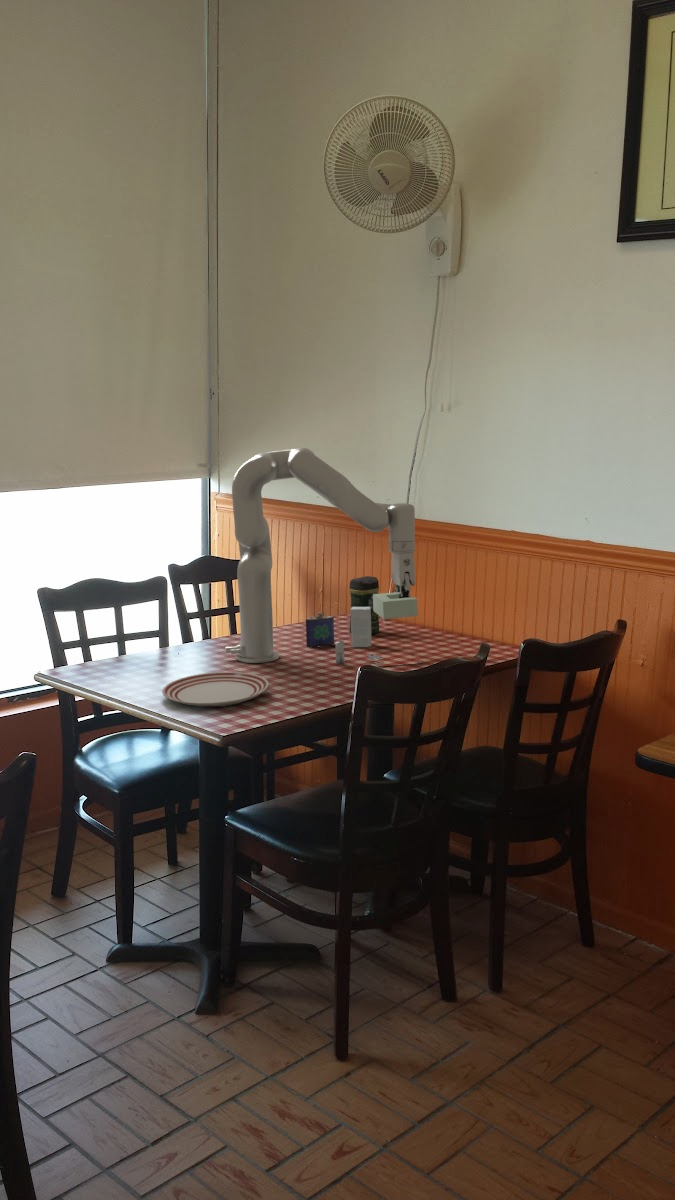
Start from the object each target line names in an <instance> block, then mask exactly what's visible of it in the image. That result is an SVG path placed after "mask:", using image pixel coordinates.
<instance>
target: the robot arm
mask: <svg viewBox="0 0 675 1200" xmlns="http://www.w3.org/2000/svg"><path fill="white" fill-rule="evenodd" d="M295 478H296V480H298V481H299V482H301V483H303V484H304V485H305V486H306V487H308V488H309V489H311V490H312V491H314V492H315V493H317V494H318V495H319V496H321V497H322V498H323V499H324V500H326V501H327V502H328V503H330V504H331V505H333V506H334V507H335V508H337V509H339V511H341V512H342V513H344V514H345V515H346V516H348V517H349V518H351V519H352V520H353V521H354V522H356V523H358V524H359V525H360V526H362V527H363V528H364V529H365V530H367V531H369V532H372V533H380V532H382V531H384V530H385V529H387V528H388V551H389V553H391V565H390V566H391V569H390V571H391V581H392V582H393V583H394V584H395V585H394V586H395V588H394V589H395V590H394V592H400V597H399V598H409V597H411V589H412V588H411V586H412V587H414V586H416V584H417V583H416V582H417V581H416V564H415V563H416V562H415V556H414V552H416V531H415V530H416V525H415V524H416V522H415V520H416V518H415V516H416V515H415V514H416V513H415V512H416V511H415V506H414V505H413V504H412V503H405V502H403V503H402V502H400V503H393V504H391V503H389V504H388V503H380V502H374V501H373V500H372V499H371V498H369V497H368V496H367V495H365V494H364V493H362V492H361V491H360V490H359V489H357V487H356V486H354V484H353V483H351V481H350V480H349V479H348V478H347V477H346V476H345V475H343V474H342V473H341V472H339V471H338V470H337V469H335V468H334V467H332V466H331V465H329V464H328V463H327V462H325V461H324V460H322V459H321V458H320V457H319V456H317V455H316V454H315V453H314V452H313V451H312V450H311V449H310V448H306V447H297V448H292V449H282V450H275V451H273V450H272V451H267V452H266V451H265V452H260V453H257V454H255V455H254V456H252V457H251V458H250V459H248V460H247V461H246V462H244V463H243V464H242V465H241V466H240V467H239V468H238V470H237V471H236V472H235V474H234V477H233V479H232V485H231V497H232V510H233V511H232V512H233V520H234V521H233V522H234V536H235V539H236V541H237V543H238V548H239V549H238V550H239V558H240V559H239V562H238V565H237V571H236V572H237V573H236V574H237V575H236V576H237V587H238V588H237V589H238V603H239V604H238V606H239V620H240V621H239V624H240V626H239V627H240V642H238V644H237V645H235V646H225V647H224V648H225V649H224V650H225V651H224V652H225V654H230V655H235V654H236V657H235V658H236V660H237V661H238V662H241V663H245V664H246V663H247V664H262V663H269V662H274V661H276V660H278V659H279V658H280V653H279V652H278V651H276V650H274V626H273V625H274V624H273V623H274V622H273V621H274V619H273V601H272V600H273V598H272V580H271V579H272V569H273V555H272V544H271V535H270V528H269V523H268V521H267V519H266V517H265V515H264V510H263V509H264V508H263V498H262V491H263V487H264V486H265V485H266V484H268V483H271V481H278V480H287V479H295Z"/></svg>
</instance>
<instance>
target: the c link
mask: <svg viewBox="0 0 675 1200" xmlns="http://www.w3.org/2000/svg"><path fill="white" fill-rule="evenodd" d="M399 597H400V592H395V591H394V592H385V593H378V594H373V611H374V612H375V613H377V614H378V617H380V618H382V619H383V620H390V619H391V620H392V619H401V618H402V619H403V618H413V617H418V616H419V612H418V611H419V606H418V598H416V597H415V596H413V597H412V596H410V597H409V598H399Z"/></svg>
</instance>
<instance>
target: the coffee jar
mask: <svg viewBox="0 0 675 1200" xmlns="http://www.w3.org/2000/svg"><path fill="white" fill-rule="evenodd" d="M379 582H380V581H379V579H378V578H377V576H370V575H366V576H361V577H356V578H352V579H351V580H349V586H348V588H349V594H350V609H351V608H352V607H371V636H372V635H375V634H377V633H379V632H380V619H379V617H380V616H379V615H378V614H377V613H375V612H374V611H373V594H379V591H380V584H379ZM349 617H350V619H349V633H350V634H351V614H350V616H349Z"/></svg>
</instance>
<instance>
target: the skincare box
mask: <svg viewBox="0 0 675 1200" xmlns="http://www.w3.org/2000/svg"><path fill="white" fill-rule="evenodd" d="M350 615H351V633H350V634H351V637H350V638H351V640H350V641H351V648H369V647H368V646H371V647H372V644H373V643H372V642H373V641H372V640H373V639H372V635H371V607H352V608H351V607H350Z"/></svg>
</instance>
